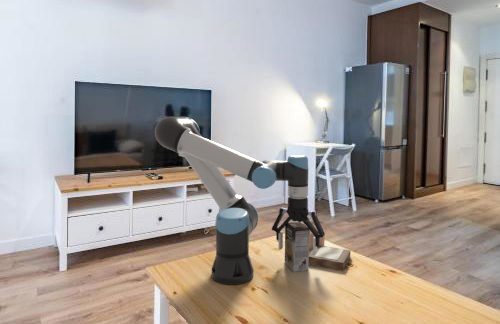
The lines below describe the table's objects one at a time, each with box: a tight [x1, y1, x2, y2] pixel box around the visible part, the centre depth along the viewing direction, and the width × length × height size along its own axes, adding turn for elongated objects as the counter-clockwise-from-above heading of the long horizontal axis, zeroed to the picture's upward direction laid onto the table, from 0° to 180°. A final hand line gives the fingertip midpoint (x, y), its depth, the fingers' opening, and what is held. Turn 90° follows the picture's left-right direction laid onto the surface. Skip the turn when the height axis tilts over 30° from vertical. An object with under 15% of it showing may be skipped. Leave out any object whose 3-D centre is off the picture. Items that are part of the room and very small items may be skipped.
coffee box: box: [284, 221, 310, 272], centre depth 136 cm, size 9×6×16 cm
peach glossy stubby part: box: [309, 231, 326, 251], centre depth 155 cm, size 7×7×7 cm
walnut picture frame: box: [309, 245, 351, 271], centre depth 142 cm, size 14×14×3 cm
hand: (297, 251), depth 136 cm, fingers open, 13 cm apart
